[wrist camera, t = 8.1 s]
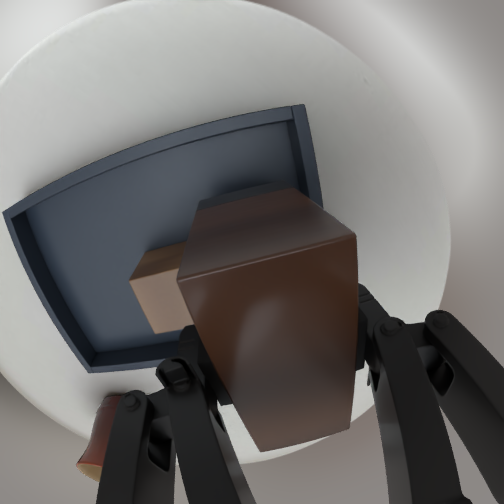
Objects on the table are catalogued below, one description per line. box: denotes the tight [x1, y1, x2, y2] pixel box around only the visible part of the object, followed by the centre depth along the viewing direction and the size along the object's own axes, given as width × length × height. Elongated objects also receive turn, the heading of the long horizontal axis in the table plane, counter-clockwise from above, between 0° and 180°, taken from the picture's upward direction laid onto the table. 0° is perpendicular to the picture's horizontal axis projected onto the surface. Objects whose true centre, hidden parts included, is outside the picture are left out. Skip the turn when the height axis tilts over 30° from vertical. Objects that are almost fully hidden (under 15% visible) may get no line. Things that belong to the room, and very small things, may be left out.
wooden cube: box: [129, 241, 194, 334], centre depth 17 cm, size 4×4×4 cm
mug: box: [76, 395, 123, 482], centre depth 22 cm, size 12×9×10 cm
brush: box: [176, 180, 358, 452], centre depth 12 cm, size 10×4×8 cm, turn 13°
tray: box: [2, 104, 323, 373], centre depth 18 cm, size 22×16×3 cm
